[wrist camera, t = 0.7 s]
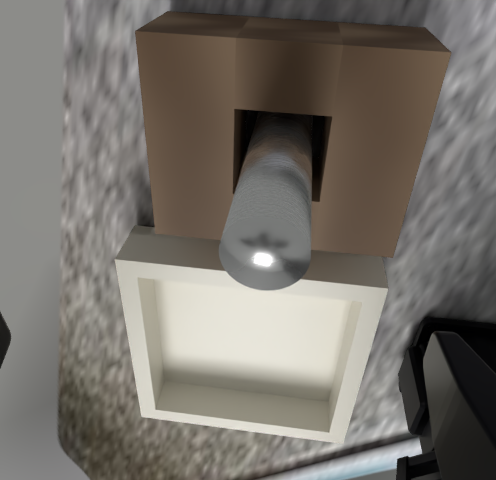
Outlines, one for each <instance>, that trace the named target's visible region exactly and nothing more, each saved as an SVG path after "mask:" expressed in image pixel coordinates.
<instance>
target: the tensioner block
mask: <svg viewBox="0 0 496 480" xmlns="http://www.w3.org/2000/svg"><path fill="white" fill-rule="evenodd" d="M135 35H136V45H137V55H138V65H139V75H140V85H141V95H142V105H143V115H144V125H145V135H146V145H147V155H148V165H149V175H150V185H151V195H152V206H153V216H154V226H155V234H164V235H174V236H184V237H194V238H203V239H213V240H221V238H222V234H223V231H224V227H225V224H226V221H227V217H228V214H229V210H230V207H231V204H232V200H233V197H234V194H235V190H236V187H237V183H238V180H239V177H240V173H241V170H242V166H243V163H244V160H245V156H246V153H247V152H245V146H246V119H247V110H256V111H269V112H281V113H294V114H307V115H319V116H325V117H324V124H323V131H322V138H321V145H320V153H319V158H313V157H312V207H311V250H321V251H331V252H341V253H350V254H360V255H370V256H380V257H390V258H393V255H394V252H395V248H396V245H397V241H398V238H399V234H400V231H401V227H402V224H403V220H404V217H405V213H406V210H407V206H408V203H409V199H410V196H411V192H412V189H413V185H414V182H415V178H416V175H417V171H418V168H419V164H420V161H421V157H422V154H423V150H424V147H425V143H426V140H427V136H428V133H429V129H430V126H431V122H432V119H433V115H434V112H435V108H436V105H437V101H438V98H439V94H440V91H441V87H442V84H443V80H444V77H445V73H446V70H447V66H448V63H449V59H450V56H451V52H450V51H449V50H448V49H447V48H446V47H445V46H444V45H443V44H442V43H441V42H440V41H439V40H438V39H437V38H436V37H435V36H434V35H433V34H432V33H430V32H429V31H428V30H427V29H426V28H423V27H407V26H391V25H376V24H360V23H344V22H328V21H313V20H297V19H281V18H265V17H250V16H234V15H218V14H202V13H187V12H171V11H167V12H166V13H164V14H163V15H161V16H159V17H158V18H156V19H154V20H153V21H151V22H149V23H148V24H146V25H144V26H143V27H141V28H139V29H138V30H136V31H135Z"/></svg>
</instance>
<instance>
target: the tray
mask: <svg viewBox="0 0 496 480" xmlns="http://www.w3.org/2000/svg"><path fill="white" fill-rule="evenodd" d="M220 241H221V240H213V239H203V238H194V237H184V236H174V235H164V234H155V227H146V226H137V225H135V226H134V228H133V230H132V231H131V233H130V235H129V236H128V238H127V240H126V241H125V243H124V245H123V247H122V248H121V250H120V252H119V253H118V255H117V257H116V258H115V263H116V269H117V275H118V281H119V286H120V292H121V298H122V304H123V310H124V316H125V322H126V328H127V334H128V339H129V345H130V351H131V357H132V363H133V369H134V375H135V381H136V387H137V392H138V398H139V404H140V410H141V416H142V417H147V418H154V419H162V420H169V421H177V422H184V423H192V424H199V425H207V426H214V427H221V428H229V429H236V430H244V431H251V432H259V433H266V434H274V435H281V436H289V437H296V438H304V439H311V440H319V441H326V442H333V443H341V444H343V442H344V439H345V435H346V432H347V429H348V425H349V422H350V418H351V415H352V412H353V408H354V405H355V401H356V398H357V395H358V391H359V388H360V384H361V381H362V377H363V374H364V371H365V367H366V364H367V360H368V357H369V354H370V350H371V347H372V343H373V340H374V337H375V333H376V330H377V326H378V323H379V319H380V316H381V313H382V309H383V306H384V302H385V299H386V296H387V292H388V284H387V279H386V274H385V269H384V264H383V259H382V257H380V256H370V255H360V254H350V253H341V252H331V251H321V250H311V261H310V265H309V268H308V270H307V272H306V273H305V275H304V276H303V277H302V278H301V279H300V280H299V281H297V282H296V283H294V284H293V285H291V286H289V287H286V288H283V289H279V290H271V291H265V290H257V289H253V288H249V287H247V286H244V285H242V284H240V283H239V282H237V281H236V280H234V279H233V278H232V277H231V276H230V275H229V274H228V273H227V272H226V271H225V269H224V267H223V266H222V264H221V261H220V257H219V245H220Z"/></svg>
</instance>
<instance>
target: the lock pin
mask: <svg viewBox="0 0 496 480" xmlns="http://www.w3.org/2000/svg"><path fill="white" fill-rule="evenodd" d="M311 207H312V115H307V114H294V113H281V112H269V111H259V112H258V116H257V119H256V122H255V126H254V129H253V133H252V136H251V139H250V143H249V146H248V150H247V153H246V156H245V160H244V163H243V166H242V170H241V173H240V177H239V180H238V183H237V187H236V190H235V194H234V197H233V200H232V204H231V207H230V210H229V214H228V217H227V221H226V224H225V227H224V231H223V234H222V238H221V241H220V245H219V257H220V261H221V264H222V266H223V267H224V269H225V271H226V272H227V273H228V274H229V275H230V276H231V277H232V278H233V279H234V280H236V281H237V282H239V283H240V284H242V285H244V286H247V287H249V288H253V289H257V290H265V291H271V290H279V289H283V288H286V287H289V286H291V285H293V284H294V283H296V282H297V281H299V280H300V279H301V278H302V277H303V276H304V275H305V273H306V272H307V270H308V268H309V265H310V261H311Z"/></svg>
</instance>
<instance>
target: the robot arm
mask: <svg viewBox="0 0 496 480" xmlns="http://www.w3.org/2000/svg"><path fill="white" fill-rule="evenodd" d="M432 325H433V326H432ZM428 326H431V327H428ZM10 341H11V333H10V330H9V328H8V326H7V324H6V322H5V320H4V318H3V316H2V314H1V312H0V368H1V365H2V363H3V360H4V358H5V355H6V353H7V350H8V347H9V345H10ZM398 376H399V390H400V392H401V393H402V398H403V403H404V409H405V414H406V420H407V425H408V430H409V432H410V433H411V434H412V435H414V436H419V439H420V444H421V449H422V454H420V455H416V456H413V457H408V456H406V457H402V458H399V459H397V475H396V480H496V324H488V323H479V322H470V321H461V320H452V319H443V318H434V317H428V318H425V319H424V320H422V322H421V324H420V327H419V329H418V332H417V335H416V338H415V340H414V343H413V346H410V347H409V348H408V349H407V351H406V354H405V357H404V360H403V362H402V365H401V368H400V371H399V373H398Z"/></svg>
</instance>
